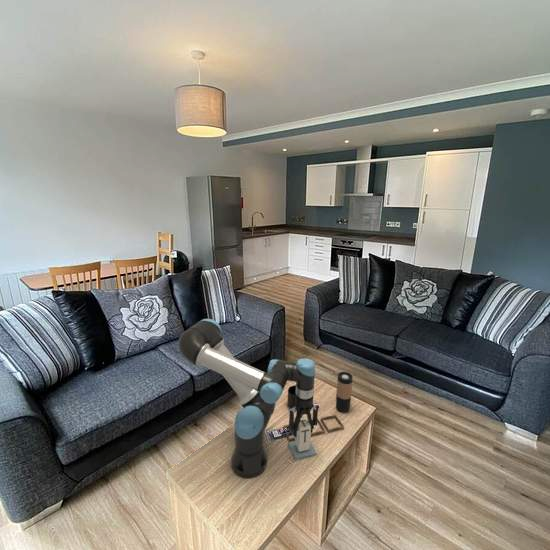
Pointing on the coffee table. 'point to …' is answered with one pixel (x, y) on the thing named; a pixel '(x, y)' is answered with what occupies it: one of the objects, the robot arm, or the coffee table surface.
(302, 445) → the letter block
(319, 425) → the wooden window frame
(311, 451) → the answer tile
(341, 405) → the travel mug
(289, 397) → the mug
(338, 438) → the coffee table surface
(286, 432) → the wooden picture frame
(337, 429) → the wooden frame right
